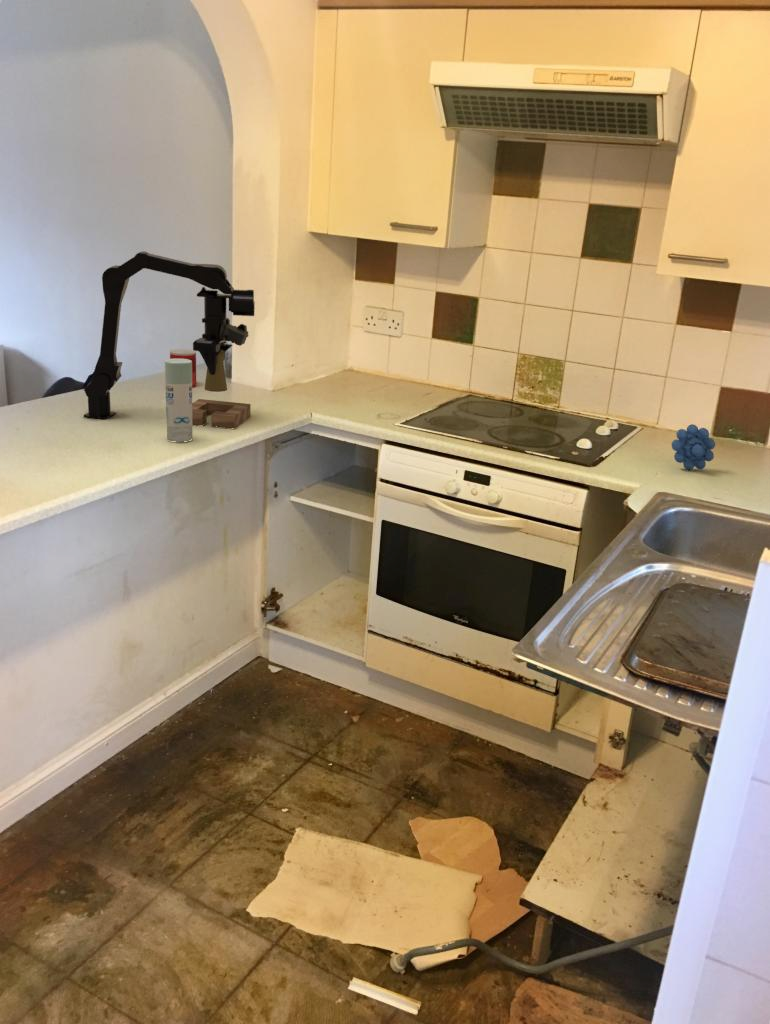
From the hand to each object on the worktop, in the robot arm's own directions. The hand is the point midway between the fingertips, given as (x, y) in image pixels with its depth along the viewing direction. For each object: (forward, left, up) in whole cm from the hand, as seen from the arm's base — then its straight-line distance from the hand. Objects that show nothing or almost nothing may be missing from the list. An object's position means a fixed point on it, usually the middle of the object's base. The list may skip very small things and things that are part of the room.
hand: (215, 372), depth 235 cm
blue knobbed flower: (-2, -127, -13) cm, 128 cm away
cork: (0, 0, -5) cm, 5 cm away
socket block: (0, 0, -13) cm, 13 cm away
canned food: (+36, +23, -13) cm, 45 cm away
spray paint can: (-22, +2, -13) cm, 26 cm away
